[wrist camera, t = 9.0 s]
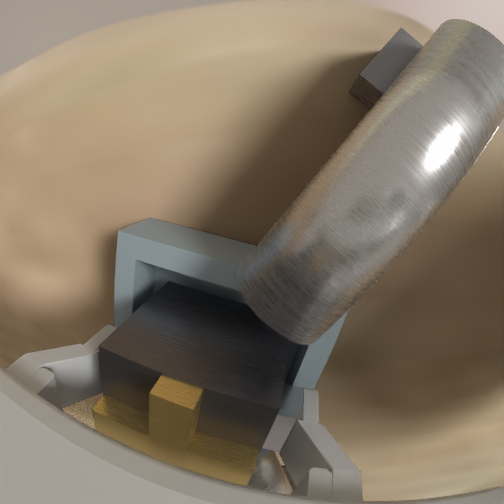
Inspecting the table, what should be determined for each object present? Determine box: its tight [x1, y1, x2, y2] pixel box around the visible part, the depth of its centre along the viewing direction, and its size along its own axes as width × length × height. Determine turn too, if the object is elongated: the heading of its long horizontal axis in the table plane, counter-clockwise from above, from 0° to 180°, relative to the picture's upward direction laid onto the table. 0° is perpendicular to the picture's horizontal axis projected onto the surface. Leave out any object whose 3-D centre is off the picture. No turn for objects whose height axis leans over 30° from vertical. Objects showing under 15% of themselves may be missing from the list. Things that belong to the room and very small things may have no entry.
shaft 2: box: [235, 19, 504, 345], centre depth 8 cm, size 9×4×5 cm, turn 142°
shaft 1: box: [243, 448, 296, 495], centre depth 12 cm, size 9×4×5 cm, turn 17°
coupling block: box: [92, 281, 289, 486], centre depth 9 cm, size 4×4×5 cm
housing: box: [114, 218, 349, 389], centre depth 11 cm, size 8×8×2 cm
